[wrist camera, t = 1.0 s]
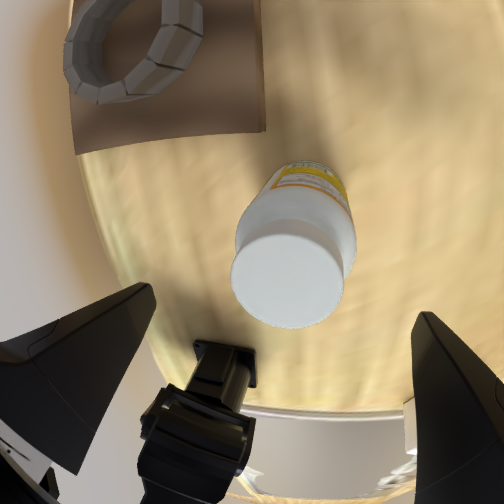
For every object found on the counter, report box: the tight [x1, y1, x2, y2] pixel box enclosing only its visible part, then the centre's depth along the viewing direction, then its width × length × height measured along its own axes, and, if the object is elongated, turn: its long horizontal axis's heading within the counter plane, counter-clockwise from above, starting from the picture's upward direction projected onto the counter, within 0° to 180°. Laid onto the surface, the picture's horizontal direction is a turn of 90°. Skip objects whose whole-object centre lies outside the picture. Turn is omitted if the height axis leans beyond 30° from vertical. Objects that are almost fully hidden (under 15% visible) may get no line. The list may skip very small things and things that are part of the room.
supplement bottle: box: [230, 161, 357, 329], centre depth 13 cm, size 5×5×10 cm
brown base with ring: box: [63, 0, 266, 155], centre depth 12 cm, size 15×15×5 cm
